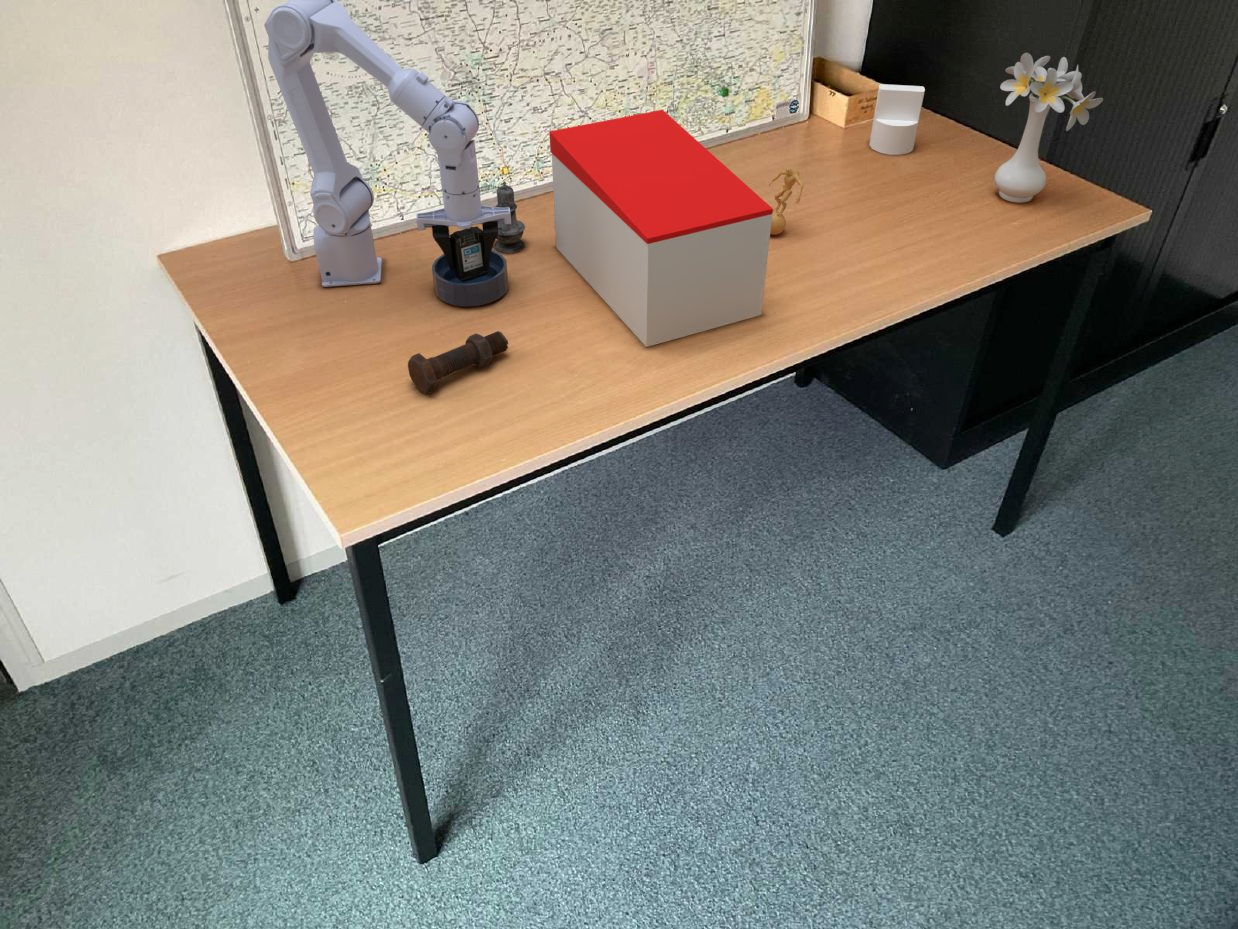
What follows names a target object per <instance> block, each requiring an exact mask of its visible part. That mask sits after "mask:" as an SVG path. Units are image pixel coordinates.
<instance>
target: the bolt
mask: <svg viewBox="0 0 1238 929" xmlns="http://www.w3.org/2000/svg"><path fill="white" fill-rule="evenodd" d="M508 349H509V340H508V338H507V337H506V336H505V335H504V334H503V332H502V331H499V330H497V331H494V332H491V333H490V334H487V335H485V336H483V335H482V334H479V333H473V334H470V336H468V337H467V338H466V340H465V343H464V344H463V345H460V346H458V347H455V348H453V349H450V350H448V351H446V352H443V353H440V354H438V355H435V356H431V357H429V358H426V357H425V356H423V355H422V354H421V353H420V352H418V353H415V354H413V355H411V357H409V360H408V361H407V370H408V374H409V377H410V379H411V381H412V383H413V385H414V386H415V387H416V389H417V390H418V391H419V392H421V393H423V394H426V395H428V394H430V393H433V392H434V391H435V389H436V386H437V384H438V381H440V380H442V379H444V378H445V377H447V376H450V375H452V374H454V373H457V372H459V371H463V370H464V369H466V368H469V367H471V366H475V367H477V368H480V369H482V368H485V367H487V366H488V365H490V363H491V361H492V360H493V357H495V356H497V355H500V354H502V353H504V352H506V351H507V350H508Z"/></svg>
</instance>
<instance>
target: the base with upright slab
mask: <svg viewBox="0 0 1238 929" xmlns="http://www.w3.org/2000/svg"><path fill="white" fill-rule="evenodd" d="M925 91H926V89H925V87H924V86H922V85H921V86H920V85H907V84H906V85H903V84H886V83H880V84H879V85H878V90H877V96H876V103H875V108H874V113H873V120H872V126H871V131H870V138H869V143H868V144H869V147H870V148H871V149H872V150H874V151H875V152H878V153H880V154H884V155H890V156H898V155H899V156H900V155H901V156H902V155H906V154H909V153H911V152H913V151H914V148H915V147H914V146H915V142H916V136H917V132H918V126H919V123H920V117H921V111H922V106H923V101H924V96H925Z"/></svg>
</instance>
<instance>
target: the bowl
mask: <svg viewBox="0 0 1238 929" xmlns="http://www.w3.org/2000/svg"><path fill="white" fill-rule="evenodd" d="M489 266H490V267H488V273H487V275H485V276H482V277H479V278H476V279H473V280H470V281H466V282H461V281H460V280H459V279H458V278H457V277H456V276H455V270H450V268H449V264H448V261H447V259H446V257H445V255H444V253H443V254H441V255H439V257H437V258H436V259H435V260H434V262H433V263H432V265H431V274H432V275H431V276H432V281H433V288H434V293H435V296H437V298H438V299H439V300H441V301H442V302H444V303H446V304H448V305H449V304H450V305H453V306H457V307H476V306H483V305H487V304H491V303H493V302H494V301H497V300H499V299H501V298H502V297H503V296H504V295H505V294H506V293H507V292H508V289H509V273H508V264H507V259H506V257H504V255H503V254H501V252H500V253H499V251H497V250H493V249H492V251H491V255H490V263H489Z"/></svg>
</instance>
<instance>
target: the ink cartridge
mask: <svg viewBox="0 0 1238 929" xmlns="http://www.w3.org/2000/svg"><path fill="white" fill-rule="evenodd" d="M449 235H450V244H451V250H452V257H453V262H454V270H455V276H456V277H457V278H458V279H459V280H460V281H461V282H466V281H470V280H473V279H476V278H479V277H482V276H485V275H487V273H488V267H485V260H484V238H483V229H482V228H480V227H479V226H478V225H477V226H476V225H475V226H471V228H469V229H459V230H456V231H453V233H450V234H449Z"/></svg>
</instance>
